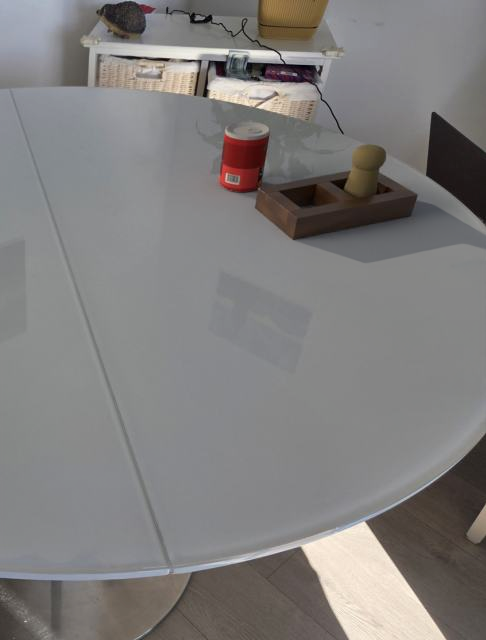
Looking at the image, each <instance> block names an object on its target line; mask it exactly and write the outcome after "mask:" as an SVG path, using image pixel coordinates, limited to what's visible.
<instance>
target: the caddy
mask: <svg viewBox="0 0 486 640" xmlns="http://www.w3.org/2000/svg"><path fill="white" fill-rule="evenodd" d="M350 172H351V170H347V171H339V172H335V173H329V174H325V175H320V176H319V175H318V176H314V177H309V178H303V179H298V180H293V181H288V182H281V183H277V184H272V185H265V186H260V187H259V188H258V189H257V193H256V200H255V205H254V209H256V210H257V211H258V212H259V213H260V214H262V216H264V217H265V218H266V219H267V220H268V221H270V222H271V223H272V224H273V225H275V226H276V227H277V228H278V229H280V230H281V231H282V232H283V233H284V234H285V235H286V236H288V237H289V238H290V239H291V240H292V241H295V240H298V239H302V238H308V237H314V236H319V235H322V234H328V233H333V232H338V231H342V230H343V231H344V230H347V229H353V228H359V227H363V226H369V225H374V224H378V223H382V222H388V221H393V220H397V219H403V218H408V217H411V216H412V214H413V211H414V208H415V205H416V202H417V198H418V196H419V194H418V193H416V192H414V191H413V190H410V189H409V188H407V187H405V186H404V185H402V184H400V183H398V182H397V181H395V180H393V179H391V178H390V177H388V176H386V175H385V174H384V173H382V172H380V171H379V176H378V184H377V191H376V195H373V196H368V197H363V198H358V199H355V198H353V197H352V196H350V195H349V194H347V193H346V192H344V191H343V189H344V187H345V184H346V182H347V180H348V177H349V175H350ZM309 205H313V206H312V207H307V208H301V207H303V206H309ZM410 215H411V216H410ZM407 216H408V217H407Z"/></svg>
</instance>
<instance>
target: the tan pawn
mask: <svg viewBox="0 0 486 640" xmlns="http://www.w3.org/2000/svg"><path fill="white" fill-rule="evenodd" d="M386 160H387V151H386V149H385V148H384V147H382V146H380V145H378V144H377V145H376V144H362V145H360V146H357V147H356V148H355V149H354V150H353V152H352V155H351V163H352V168H351V170H350V171H351V172H350V175H349V177H348V180H347V182H346V184H345V187H344V189H343V191H344V192H346V193H347V194H349V195H350V196H352V197H353V198H355V199H358V198H363V197H368V196H373V195H376V191H377V184H378V176H379V172H380V168H381V167H383V166H384V164H385V162H386Z"/></svg>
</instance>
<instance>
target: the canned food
mask: <svg viewBox="0 0 486 640" xmlns="http://www.w3.org/2000/svg"><path fill="white" fill-rule="evenodd" d="M270 136H271V128H270V127H269V126H268V125H266V124H263V123H261V122H255V121H239V122H233V123H231V124H230V123H229V124H228V125H226V127H225V130H224V135H223V143H222V152H221V160H220V168H219V176H218V177H219V178H218V181H219V185H220V184H221V185H222V186H223V187H224V188H226V189H228V190H227V191H229V190H232V191H231V192H233V191H238V192H237V193H249V191H250V192H254V191H256V190H258V188H260V187H261V185H262V183H263V178H264V171H265V165H266V160H267V153H268V147H269V143H270V142H269V141H270ZM221 185H220V186H221ZM222 186H221V187H222ZM223 187H222V188H223ZM224 188H223V189H224ZM226 189H225V190H226Z"/></svg>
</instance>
